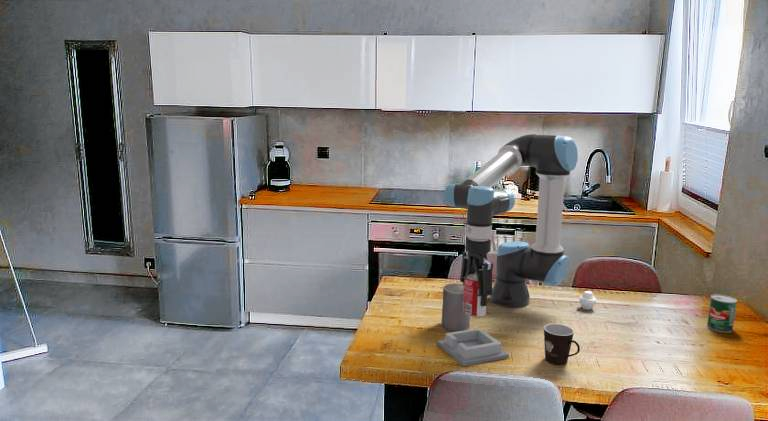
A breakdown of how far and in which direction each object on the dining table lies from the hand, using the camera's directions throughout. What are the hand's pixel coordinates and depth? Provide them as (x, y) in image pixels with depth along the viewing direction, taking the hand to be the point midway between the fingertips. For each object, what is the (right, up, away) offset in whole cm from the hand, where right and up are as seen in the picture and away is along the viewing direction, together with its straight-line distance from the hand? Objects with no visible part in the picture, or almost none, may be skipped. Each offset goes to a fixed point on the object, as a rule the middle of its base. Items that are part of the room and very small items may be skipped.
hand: (474, 310), depth 172 cm
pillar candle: (-3, -9, +22) cm, 24 cm away
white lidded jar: (+49, -6, +40) cm, 64 cm away
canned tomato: (+90, -11, +24) cm, 93 cm away
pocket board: (0, -13, +3) cm, 13 cm away
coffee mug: (+24, -15, -4) cm, 29 cm away
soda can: (0, -1, 0) cm, 1 cm away
